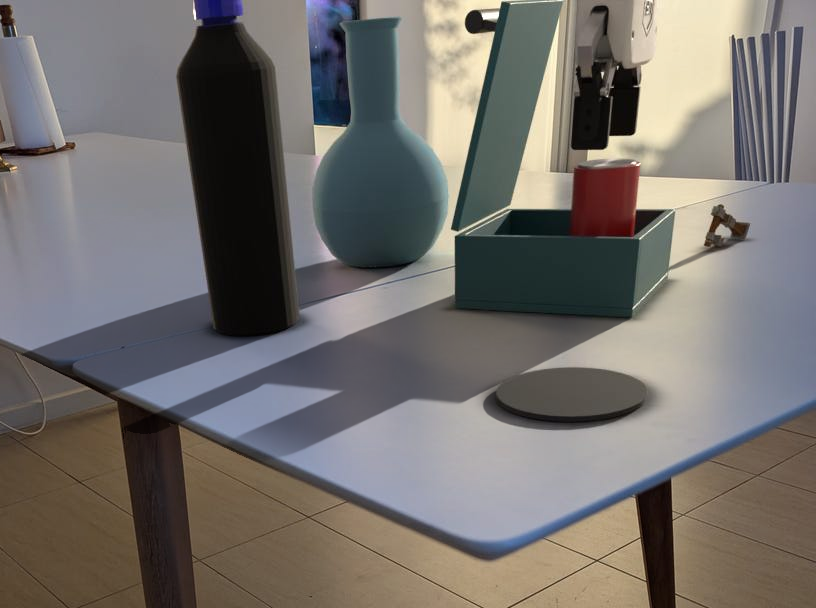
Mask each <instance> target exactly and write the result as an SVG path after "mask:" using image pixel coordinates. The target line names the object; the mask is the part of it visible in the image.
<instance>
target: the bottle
mask: <svg viewBox="0 0 816 608" xmlns="http://www.w3.org/2000/svg"><path fill="white" fill-rule="evenodd" d="M243 5H244V4H243V0H192V12H193V19H194V20H196V21H198V20H199V21H201V25H197V26H196V29H195V34H194V37H193V39H192V41H191V43H190V45H189V47H188V48H187V50H186V52H185V53H184V55H183V57H182V58H181V61H180V63H179V65H178V67H177V70H176V74H175V75H176V76H175V79H176V85H177V92H178V98H179V106H180V111H181V112H180V113H181V119H182V124H183V125H182V126H183V132H184V139H185V146H186V151H187V158H188V165H189V173H190V179H191V186H192V192H193V198H194V205H195V212H196V220H197V225H198V233H199V239H200V247H201V253H202V260H203V266H204V267H203V268H204V272H205V279H206V286H207V287H206V288H207V293H208V300H209V306H210V312H211V321H212V326H213V329H214V330H215V331H217V332H218V333H219V334H223V335H226V336H227V335H228V336H236V337H237V336H238V337H247V336H259V335H261V336H262V335H267V334H273V333H276V332H277V333H278V332H280V331H284V330H287V329H289V328H291V327H294V326H295V325H296V324H297V322H299V320H300V307H299V297H298V288H297V287H298V286H297V278H296V277H297V276H296V268H295V267H296V266H295V258H294V255H295V254H294V245H293V236H292V225H291V217H290V203H289V195H288V186H287V175H286V174H287V173H286V165H285V153H284V144H283V133H282V125H281V113H280V103H279V92H278V84H277V82H278V81H277V72H276V66H275V64H274V61H273V59H272V57H270V56H269V55H268V53H267V52H266V51H265V50H264V49H263V48H262V46H261V45H260V44H258V42H257V41H255V39H254V38H253V36H252V35H251V34H250V33H249V32H248V31H247V28H246V26H245V24H244V22H243V21H238V18H237V17H241V16H244V7H243Z"/></svg>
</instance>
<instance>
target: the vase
mask: <svg viewBox="0 0 816 608" xmlns="http://www.w3.org/2000/svg"><path fill="white" fill-rule="evenodd" d="M403 18H404V17H403V16H400V15H399V16H388V17H387V16H386V17H378V18H377V17H376V18H366V19H365V18H364V19H355V20H347V21H341V22H339V26H340V27H341V29H342V30H343V31H344V32H345V52H346V53H345V57H346V69H347V82H348V94H349V95H348V96H349V103H350V121H349V122H348V125H347V126H346V128H345V130H344V131H343V132H342V133H341V134H340V135H339V137H337V138H336V139H335V140H334V141H333V142H332V144H331V145H330V146H329V148H328V149H327V150H326V152H325V153H324V154H323V156H322V158H321V159H320V162H319V164H318V166H317V169H316V171H315V176H314V178H313V179H314V180H313V183H312V184H313V185H312V187H311V206H312V212H313V219H314V225H315V227H316V230H317V232H318V234H319V236H320V238H321V240H322V242H323V244H324V245H325V247H326V248H327V250H328V251H329V253H330V254H331V256H333V257H334V258H335V259H337V260H338V261H339V262H341V264H344V265H347V266H350V267H354V268H355V267H357V268H385V267H386V268H387V267H388V268H389V267H394V266H401V265H405V264H409V263H412V262H415V261H417V260H419V259H421V258H422V257H424V256H425V255H426V254H427V253H428V252H429V251H430V250H431V249H432V248H434V246H435V245H436V242H437V240H438V239H439V237H440V235H441V233H442V231H443V229H444V227H445V226H444V225H445V224H446V220H447V218H448V213H449V201H450V200H449V199H450V194H449V183H448V179H447V175H446V173H445V170H444V167H443V163H442V162H441V160H440V159H439V157H438V156H437V153H436V152H435V151H434V149H433V148H432V147H431V145H429V144H428V142H426V140H425V139H424V138H423V137H422V136H421V135H420V134H418V133H417V132H415V131H414V130H412V129H411V128H410V127H409V126H408V125H407V123H405V121H404V120H403V118H402V116H401V111H400V50H399V49H400V47H399V46H400V45H399V32H398V28H399V25H400V24H401V22H402V20H403Z"/></svg>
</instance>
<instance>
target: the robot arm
mask: <svg viewBox="0 0 816 608" xmlns="http://www.w3.org/2000/svg"><path fill="white" fill-rule="evenodd" d="M659 5H660V0H577V9H576V20H575V35H574V62H575V65H576V67H575V76H576V80H575V84H574V87H573V88H574V90H573V97H574V98H573V111H572V124H571V137H570V148H571V149H572V151H604V150H606V149H607V148H608V146H609V142H610V141H609V140H610V137H631V136H635V134H636V132H637V126H638V117H639V107H640V106H639V105H640V98H641V97H640V96H641V87H642V86H641V84H642V77H643V76H642V75H643V73H642V66H644V65H646V64H649V62H650V61H652V60H653V58H654V56H655V53H656V46H657V45H656V43H657V33H658V32H657V31H658V21H659V20H658V19H659V18H658V17H659ZM602 73H603V75H602Z"/></svg>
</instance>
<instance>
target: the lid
mask: <svg viewBox="0 0 816 608" xmlns="http://www.w3.org/2000/svg"><path fill="white" fill-rule="evenodd" d="M563 3H564V0H503V1H501V2H500V7H497V8H496V7H495V8H483V9H482V8H481V9H472V10H470V11H468V12H467V14H466V16H465V18H464V27H465V30H466V31H467V32H468V33H469V34H470V35H479V34H485V33H486V34H487V33H493V37H492V42H491V47H490V51H489V55H488V60H487V65H486V70H485V73H484V78H483V82H482V88H481V92H480V96H479V101H478V105H477V109H476V115H475V118H474V124H473V128H472V132H471V136H470V141H469V146H468V150H467V154H466V159H465V164H464V168H463V172H462V177H461V182H460V186H459V190H458V194H457V198H456V199H457V200H456V204H455V209H454V213H453V218H452V221H451V226H450V230H451V231H454V232H457V233H458V232H459V233H460V231H462V230H464V229H467V228H469V227H470V226H472V225H474V224H476V223H479V222H480V221H482V220H484V219H486V218H489V217H491V216H492V215H493V214H494V215H495V214H496V213H499V212H501V210H502V211H503V210H505V209H506V208H507V207H510V206H511V204H512V201H513V197H514V193H515V190H516V185H517V181H518V177H519V174H520V170H521V166H522V162H523V158H524V154H525V150H526V147H527V143H528V138H529V135H530V131H531V127H532V124H533V120H534V115H535V111H536V107H537V104H538V100H539V95H540V92H541V89H542V86H543V85H542V84H543V81H544V78H545V73H546V69H547V66H548V61H549V58H550V53H551V50H552V46H553V42H554V38H555V34H556V31H557V26H558V23H559V19H560V15H561V12H562V7H563Z"/></svg>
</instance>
